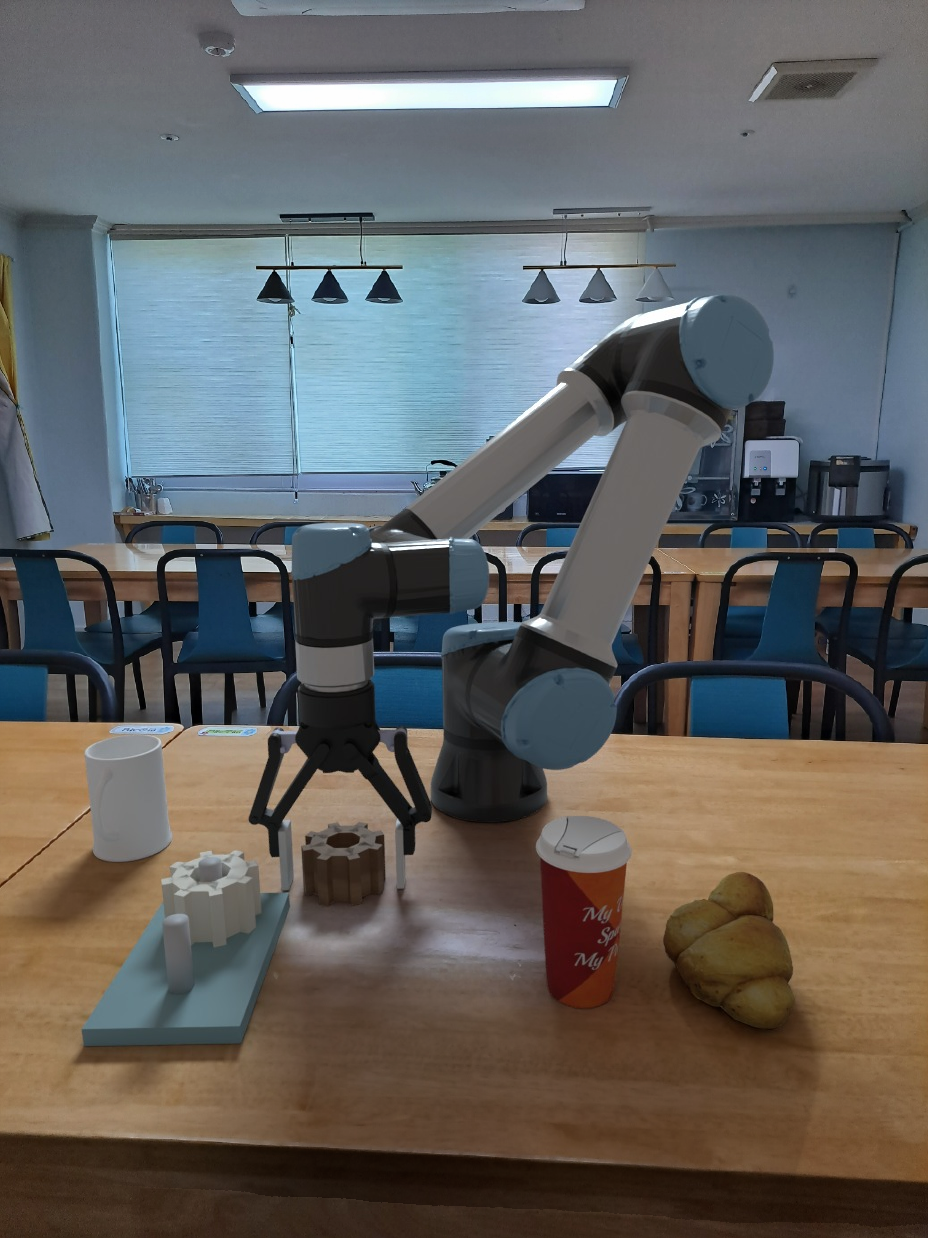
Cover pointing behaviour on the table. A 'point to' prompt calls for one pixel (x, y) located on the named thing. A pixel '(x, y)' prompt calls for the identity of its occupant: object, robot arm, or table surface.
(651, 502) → the robot arm
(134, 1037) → the gear board
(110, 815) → the mug
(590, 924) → the paper cup
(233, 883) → the cream gear
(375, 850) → the walnut gear
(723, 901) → the bread roll
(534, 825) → the table surface
